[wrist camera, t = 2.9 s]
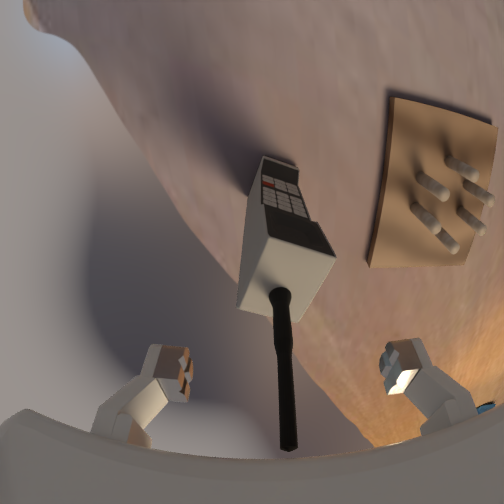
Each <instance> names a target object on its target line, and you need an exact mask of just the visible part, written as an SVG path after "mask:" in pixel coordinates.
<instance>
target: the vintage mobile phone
mask: <svg viewBox="0 0 504 504" xmlns="http://www.w3.org/2000/svg"><path fill="white" fill-rule="evenodd" d="M298 182H299V168H298V167H295V166H292V165H290V164H287V163H284V162H281V161H278V160H275V159H272V158H269V157H266V156H263V157H262V160H261V162H260V165H259V168H258V171H257V174H256V176H255V179H254V182H253V185H252V188H251V190H250V193H249V196H248V199H247V208H246V217H245V227H244V236H243V245H242V255H241V264H240V274H239V283H238V293H237V303H236V307H237V308H238V309H241V310H245V311H249V312H253V313H257V314H261V315H265V316H269V317H273V329H274V345H275V350H276V354H277V360H278V361H277V362H278V389H279V420H280V449H281V450H284V451H287V452H290V451H293V450H295V449H297V448H298V442H297V426H296V410H295V395H294V383H293V382H294V381H293V369H292V348H293V337H292V327H291V322H295V323H298V322H299V321H300V319H301V318H302V316H303V314H304V313H305V311H306V310H307V308H308V306H309V305H310V303H311V301H312V300H313V298H314V296H315V295H316V293H317V291H318V290H319V288H320V286H321V285H322V283H323V281H324V280H325V278H326V276H327V274H328V273H329V271H330V269H331V268H332V266H333V264H334V262H335V260H336V254H335V253H334V251H333V249H332V247H331V245H330V243H329V242H328V240H327V238H326V236H325V234H324V233H323V231H322V229H321V227H320V225H319V224H318V222H314V221H311V218H310V216H309V213H308V210H307V207H306V205H305V202H304V199H303V196H302V194H301V191H300V188H299V186H298Z"/></svg>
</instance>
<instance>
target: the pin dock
mask: <svg viewBox="0 0 504 504" xmlns="http://www.w3.org/2000/svg"><path fill="white" fill-rule="evenodd" d="M497 133H498V128H497V127H495V126H492V125H490V124H487V123H484V122H482V121H479V120H476V119H473V118H470V117H467V116H464V115H461V114H458V113H455V112H452V111H448V110H445V109H441V108H438V107H434V106H430V105H426V104H422V103H418V102H414V101H410V100H405V99H400V98H395V97H390V103H389V120H388V133H387V143H386V153H385V162H384V170H383V177H382V184H381V191H380V198H379V204H378V210H377V215H376V221H375V226H374V231H373V236H372V241H371V246H370V250H369V255H368V259H367V264H368V266H369V268H391V267H425V266H453V265H464V264H465V261H466V258H467V256H468V253H469V250H470V247H471V245H472V242H473V239H474V236H475V233H477V234H478V235H479V236H483V235H484V234H485V232H486V229H487V227H486V226H485V225H484V224H483V223H482V222H481V221H480V216H481V213H482V209H483V206H484V204H486V205H487V206H488V207H492V206H493V205H494V203H495V197H494V196H493V195H492V194H490V193H489V192H487V190H488V185H489V181H490V176H491V171H492V166H493V160H494V154H495V148H496V141H497Z"/></svg>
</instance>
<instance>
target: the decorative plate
mask: <svg viewBox="0 0 504 504" xmlns="http://www.w3.org/2000/svg"><path fill="white" fill-rule="evenodd" d="M495 405H496V404H489V405H485V406H484V405H483V406H481V407H479V408H477V412H478V415H479V414H481V413H484V412H486V411H488V410H490V409H492V408H494V407H495Z"/></svg>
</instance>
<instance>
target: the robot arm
mask: <svg viewBox="0 0 504 504" xmlns="http://www.w3.org/2000/svg"><path fill="white" fill-rule="evenodd" d="M385 349H386V351H385V352H384V353H382V355H381V357H380V361H379V368H380V372H381V375H382V376H384V377H385V380H384V386H385V389H386V393H387V395H391V394H397V393H403V392H404V394H405V395H406V396H407V397H408V398H409V399H410V401H411V402H412V403H413V404H414V405H415V406H416V407H417V408H418V409H419V410H420V411H421V412H422V413H423V414H424V415H425V416H426V418H427V419H428V420H427V421H426V422H425V423H424V424H422V425H421V427H420V431H421V435H422V436H419V437H416V438H413V439H409V440H405V441H402V442H398V443H394V444H389V445H385V446H380V447H376V448H371V449H366V450H360V451H355V452H348V453H341V454H334V455H326V456H317V457H304V458H287V459H233V458H218V457H207V456H197V455H189V454H181V453H175V452H167V451H162V450H157V449H151V444H152V439H151V438H150V436H149V435H148V434H147V433H146V432H145V431H144V430H143V429H144V428H145V427H146V426H147V425H148V424H149V423H150V421H151V420H152V419H153V418H154V417H155V416H156V415H157V414H158V413H159V412H160V410H161V409H162V408H163V407H164V406H165V405H166V404H167V403H168V401H176V402H188V397H189V393H190V387H189V385H188V383H189V382H190V381H191V380H192V376H193V362H192V359H191V358H189V350H188V348H186V347H175V346H166V345H156V344H152V345H151V346H150V347H149V350H148V353H147V356H146V359H145V362H144V365H143V368H142V371H141V374H140V376H136V377H134V378H133V379H132V380H131V381H130V382H128V383H127V384H126V385H125V386H123V387H122V388H121V389H120V390H119V391H117V392H116V393H115V394H114V395H113V396H111V397H110V398H109V399H108V400H107V401H105V402H104V403H103V404H102V405H100V406H99V408H98V411H97V414H96V417H95V420H94V423H93V426H92V429H91V432H90V433H89V432H86V431H83V430H80V429H77V428H75V427H72V426H69V425H66V424H64V423H61V422H58V421H56V420H54V419H51V418H49V417H46V416H44V415H42V414H40V413H37V412H35V411H33V410H30V409H24V410H22V411H20V412H18V413H16V414H15V415H13V416H11V417H10V418H8V419H7V420H6V421H4V422H3V423H2V424H1V426H0V504H504V403H502V404H500V405H498V406H496V407H494V408H492V409H490V410H488V411H486V412H484V413H481V414H479V415H478V412H477V409H476V407H475V404H474V402H473V399H472V397H471V394H470V392H469V391H468V390H466V389H465V388H464V387H462V386H461V385H460V384H459V383H457V382H456V381H455V380H453V379H452V378H451V377H450V376H448V375H447V374H446V373H444V372H443V371H442V370H441V369H439V368H438V367H437V366H433V365H432V362H431V360H430V358H429V356H428V353H427V351H426V349H425V347H424V345H423V343H422V340H421V339H420V338H413V339H405V340H398V341H391V342H388V343H387V344H386V346H385Z"/></svg>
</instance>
